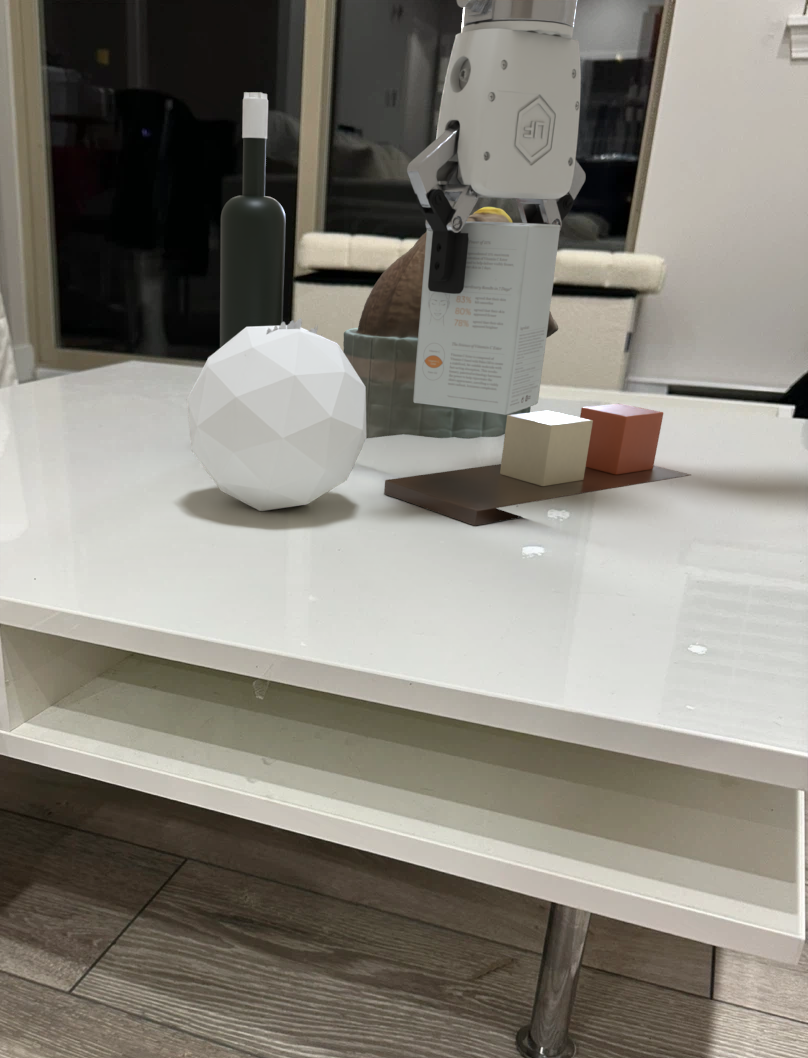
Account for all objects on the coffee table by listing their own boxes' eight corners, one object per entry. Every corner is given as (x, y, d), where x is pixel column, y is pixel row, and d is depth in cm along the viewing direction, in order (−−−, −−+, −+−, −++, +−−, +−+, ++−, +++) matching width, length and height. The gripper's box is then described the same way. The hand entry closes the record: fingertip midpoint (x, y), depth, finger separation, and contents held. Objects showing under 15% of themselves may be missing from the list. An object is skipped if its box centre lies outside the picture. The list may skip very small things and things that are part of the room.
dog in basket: (540, 413, 126) (569, 209, 116) (554, 456, 103) (591, 209, 94) (351, 402, 129) (363, 203, 119) (325, 442, 107) (338, 201, 97)
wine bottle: (262, 442, 106) (270, 97, 93) (288, 454, 101) (301, 92, 88) (209, 446, 103) (210, 93, 90) (234, 458, 99) (239, 88, 86)
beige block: (540, 468, 93) (548, 410, 91) (583, 480, 90) (593, 420, 88) (499, 474, 91) (506, 414, 89) (542, 486, 87) (551, 425, 85)
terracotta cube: (609, 458, 98) (618, 403, 96) (653, 469, 94) (664, 412, 92) (572, 463, 95) (581, 407, 93) (616, 475, 92) (626, 416, 90)
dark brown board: (592, 463, 101) (594, 450, 101) (689, 488, 93) (692, 474, 93) (383, 493, 88) (384, 479, 88) (474, 526, 80) (476, 510, 80)
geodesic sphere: (261, 399, 93) (212, 263, 81) (413, 417, 88) (384, 273, 76) (192, 531, 88) (128, 406, 76) (348, 559, 82) (307, 429, 70)
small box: (539, 405, 83) (563, 223, 77) (506, 416, 78) (529, 224, 73) (446, 393, 87) (463, 220, 81) (410, 403, 83) (425, 220, 77)
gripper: (461, -10, 64) (433, 298, 72) (647, 22, 73) (604, 293, 81) (384, 5, 70) (365, 289, 78) (565, 33, 79) (532, 285, 86)
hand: (487, 290), depth 79 cm, fingers closed on small box, 8 cm apart
